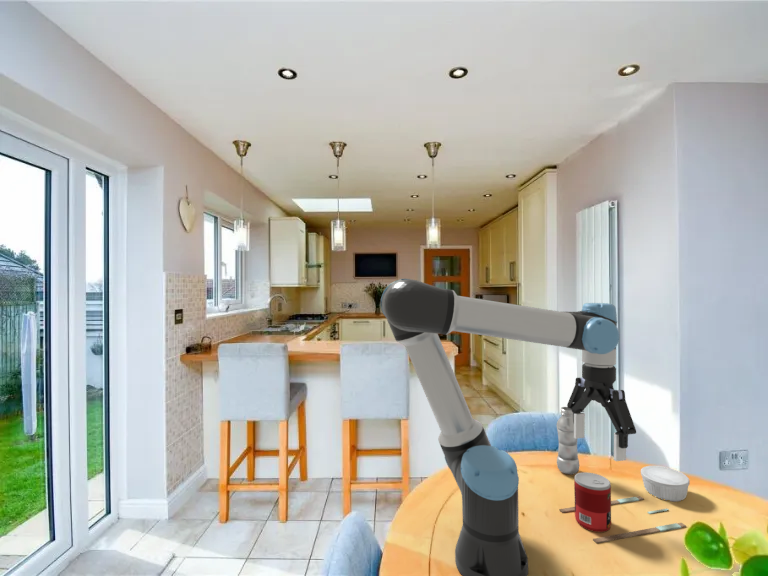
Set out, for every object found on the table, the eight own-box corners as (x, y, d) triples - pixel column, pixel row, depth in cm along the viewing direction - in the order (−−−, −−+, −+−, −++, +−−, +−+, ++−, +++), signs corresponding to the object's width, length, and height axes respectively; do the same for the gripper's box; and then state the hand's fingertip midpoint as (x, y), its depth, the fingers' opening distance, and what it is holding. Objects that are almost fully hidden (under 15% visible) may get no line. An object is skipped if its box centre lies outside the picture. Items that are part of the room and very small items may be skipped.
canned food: (616, 534, 94) (615, 488, 94) (579, 531, 96) (579, 486, 96) (604, 515, 102) (604, 473, 101) (571, 512, 103) (570, 470, 103)
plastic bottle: (553, 472, 125) (552, 409, 124) (562, 464, 129) (561, 404, 129) (574, 479, 120) (573, 413, 119) (583, 471, 124) (582, 408, 124)
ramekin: (644, 498, 109) (644, 479, 109) (638, 479, 119) (638, 462, 119) (694, 508, 104) (694, 488, 104) (684, 487, 114) (683, 469, 114)
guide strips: (596, 543, 91) (596, 542, 91) (559, 510, 104) (559, 508, 104) (693, 525, 97) (692, 524, 97) (645, 496, 110) (645, 494, 110)
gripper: (655, 375, 88) (654, 469, 89) (577, 354, 113) (576, 428, 113) (627, 377, 87) (626, 473, 87) (553, 355, 111) (553, 431, 112)
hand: (598, 448), depth 100 cm, fingers open, 13 cm apart
